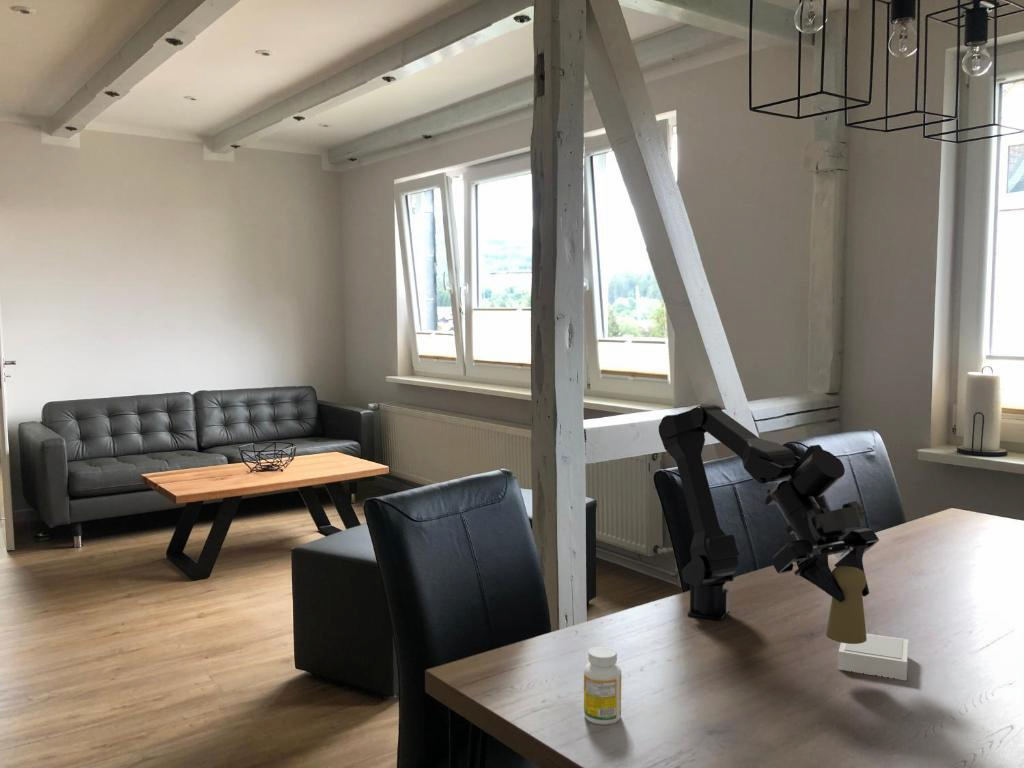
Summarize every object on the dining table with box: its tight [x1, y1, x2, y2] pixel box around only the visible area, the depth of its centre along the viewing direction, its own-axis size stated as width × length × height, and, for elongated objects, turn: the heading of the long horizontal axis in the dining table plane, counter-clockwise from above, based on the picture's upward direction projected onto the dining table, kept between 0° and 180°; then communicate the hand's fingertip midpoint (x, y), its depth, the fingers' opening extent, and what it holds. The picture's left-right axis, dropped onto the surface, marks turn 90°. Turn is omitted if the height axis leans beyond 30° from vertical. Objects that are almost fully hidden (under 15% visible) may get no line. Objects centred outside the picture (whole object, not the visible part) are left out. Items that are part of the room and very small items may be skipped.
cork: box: [825, 566, 867, 644], centre depth 133 cm, size 6×6×11 cm
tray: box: [837, 633, 909, 681], centre depth 139 cm, size 10×10×3 cm
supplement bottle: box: [583, 646, 622, 726], centre depth 122 cm, size 5×5×10 cm
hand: (854, 598), depth 132 cm, fingers closed on cork, 5 cm apart
